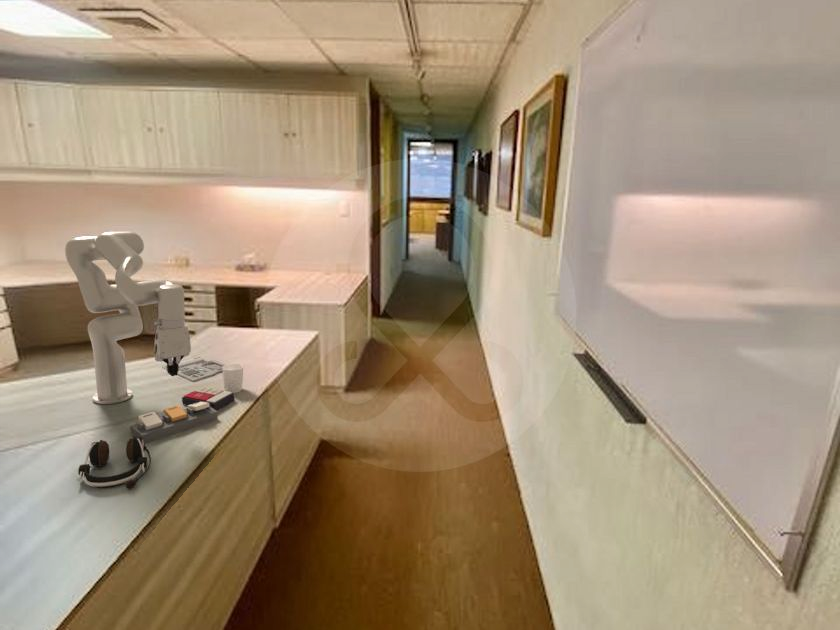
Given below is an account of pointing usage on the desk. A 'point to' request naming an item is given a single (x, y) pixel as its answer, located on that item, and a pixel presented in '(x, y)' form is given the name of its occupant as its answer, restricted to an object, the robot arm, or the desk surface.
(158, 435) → the rocker switch panel
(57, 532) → the desk surface
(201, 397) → the calculator
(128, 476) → the headset
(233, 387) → the white cup
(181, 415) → the rocker middle
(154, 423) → the rocker
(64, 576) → the desk surface
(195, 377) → the office telephone
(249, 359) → the desk surface
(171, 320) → the robot arm
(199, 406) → the rocker
